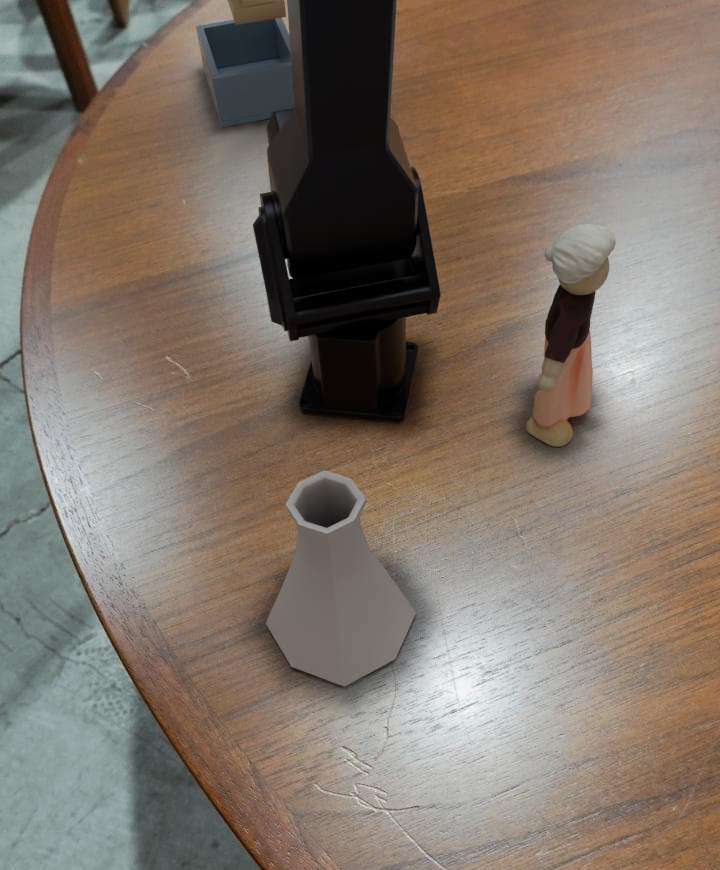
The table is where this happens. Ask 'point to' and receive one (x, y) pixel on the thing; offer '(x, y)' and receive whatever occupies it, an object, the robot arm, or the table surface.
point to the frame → (256, 10)
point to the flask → (336, 588)
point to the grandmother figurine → (570, 331)
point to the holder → (247, 69)
